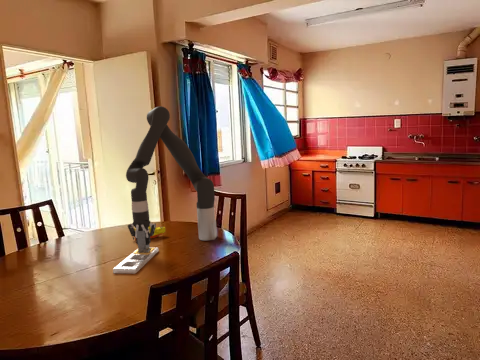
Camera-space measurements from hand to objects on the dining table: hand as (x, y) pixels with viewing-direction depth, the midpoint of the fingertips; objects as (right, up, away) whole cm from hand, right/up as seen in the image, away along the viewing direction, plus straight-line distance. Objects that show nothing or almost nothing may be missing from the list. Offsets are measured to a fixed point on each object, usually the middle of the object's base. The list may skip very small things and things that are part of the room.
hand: (143, 244), depth 167 cm
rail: (-1, -6, -7) cm, 10 cm away
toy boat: (-4, -2, +26) cm, 27 cm away
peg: (0, -3, 0) cm, 3 cm away
